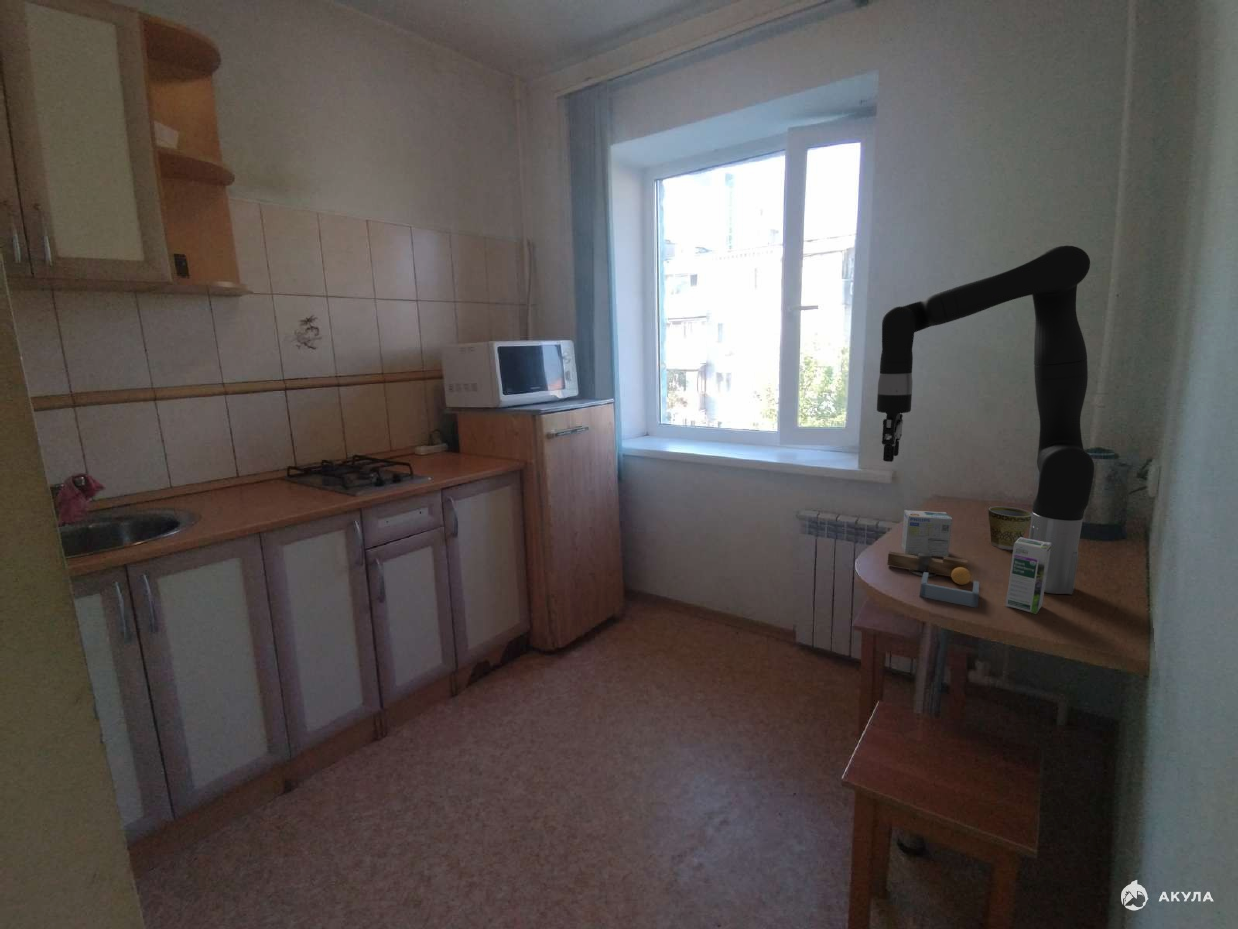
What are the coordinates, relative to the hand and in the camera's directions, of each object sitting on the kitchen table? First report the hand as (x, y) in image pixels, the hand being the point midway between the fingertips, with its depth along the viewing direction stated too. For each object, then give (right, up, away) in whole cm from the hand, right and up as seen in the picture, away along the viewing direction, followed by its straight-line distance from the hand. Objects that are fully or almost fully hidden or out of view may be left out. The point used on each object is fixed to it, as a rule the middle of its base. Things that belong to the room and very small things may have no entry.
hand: (890, 458), depth 143 cm
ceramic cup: (+41, -24, +19) cm, 51 cm away
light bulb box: (+15, -25, +14) cm, 33 cm away
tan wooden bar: (+8, -28, 0) cm, 29 cm away
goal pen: (+7, -31, -13) cm, 34 cm away
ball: (+13, -30, -7) cm, 33 cm away
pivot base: (+8, -28, 0) cm, 29 cm away
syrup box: (+20, -32, -19) cm, 42 cm away
